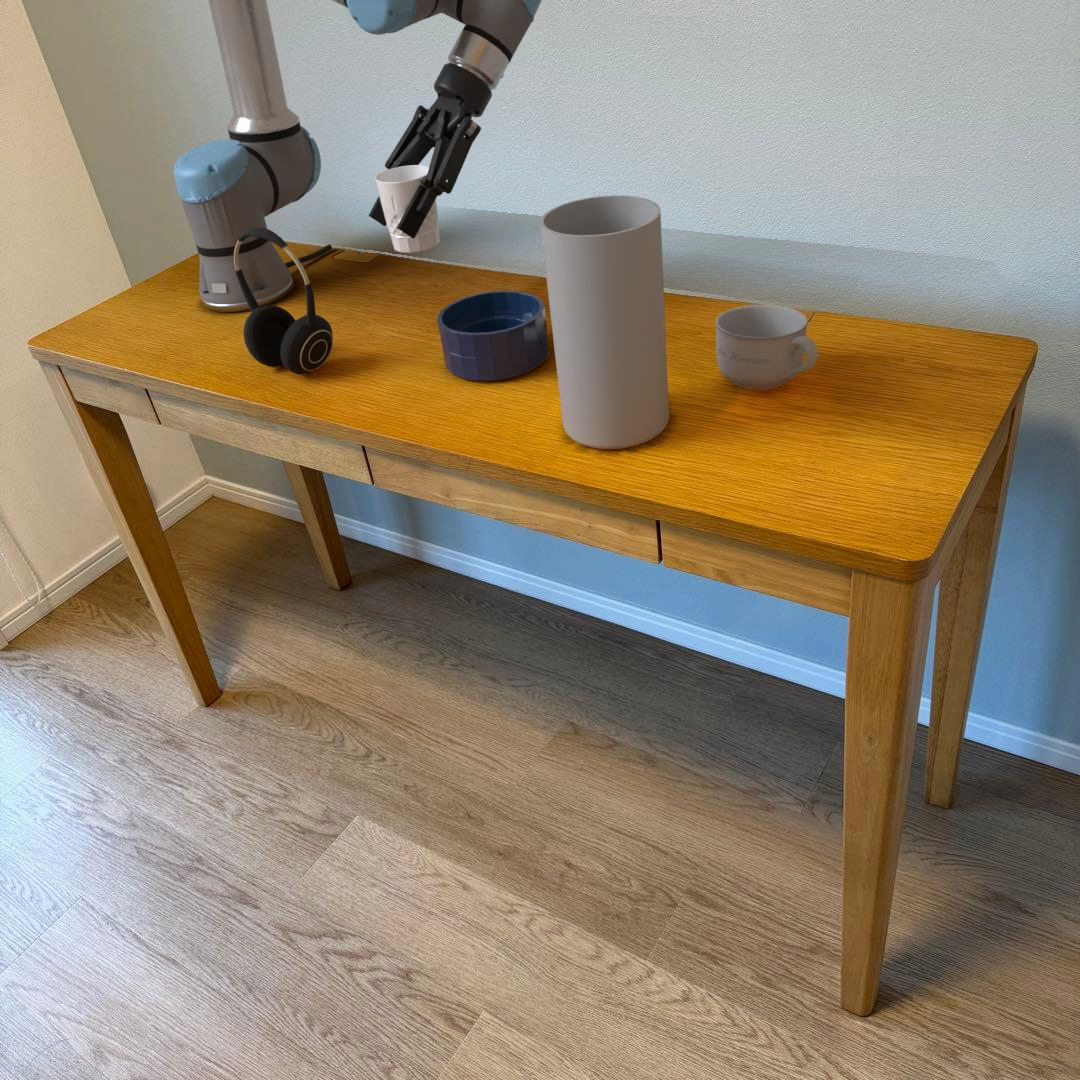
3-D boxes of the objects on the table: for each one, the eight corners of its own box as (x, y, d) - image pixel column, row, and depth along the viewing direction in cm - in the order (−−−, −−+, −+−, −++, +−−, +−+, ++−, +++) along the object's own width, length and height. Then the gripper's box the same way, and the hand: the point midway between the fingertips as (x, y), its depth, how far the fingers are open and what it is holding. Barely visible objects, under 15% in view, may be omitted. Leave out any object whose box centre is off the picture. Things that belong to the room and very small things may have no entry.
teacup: (699, 374, 127) (698, 314, 122) (772, 351, 129) (774, 292, 125) (761, 419, 116) (763, 356, 111) (840, 393, 119) (844, 330, 114)
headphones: (310, 390, 135) (271, 246, 124) (240, 371, 143) (196, 233, 131) (355, 364, 141) (321, 223, 129) (284, 346, 148) (246, 212, 137)
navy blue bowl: (457, 339, 144) (449, 293, 139) (555, 335, 141) (550, 287, 137) (436, 386, 132) (427, 337, 128) (542, 381, 130) (536, 331, 126)
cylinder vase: (542, 434, 119) (515, 225, 104) (607, 390, 126) (591, 189, 111) (625, 463, 111) (609, 243, 97) (690, 415, 118) (684, 204, 104)
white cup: (414, 232, 147) (401, 163, 142) (455, 238, 143) (443, 167, 137) (378, 251, 143) (363, 180, 137) (419, 257, 138) (405, 184, 133)
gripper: (531, 101, 132) (448, 256, 135) (451, 85, 147) (377, 225, 149) (492, 67, 127) (406, 228, 130) (413, 53, 141) (337, 199, 144)
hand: (391, 226), depth 139 cm, fingers closed on white cup, 8 cm apart
